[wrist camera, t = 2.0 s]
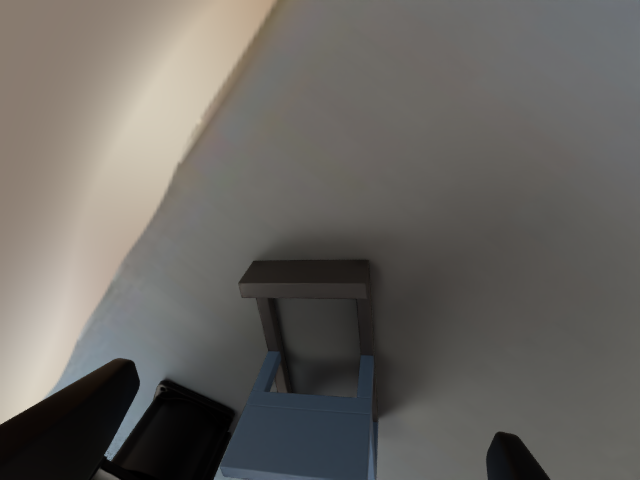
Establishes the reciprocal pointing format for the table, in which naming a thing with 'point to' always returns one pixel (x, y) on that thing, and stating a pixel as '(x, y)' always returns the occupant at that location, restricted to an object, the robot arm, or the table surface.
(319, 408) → the chair
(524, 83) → the table surface
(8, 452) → the robot arm
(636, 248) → the table surface
